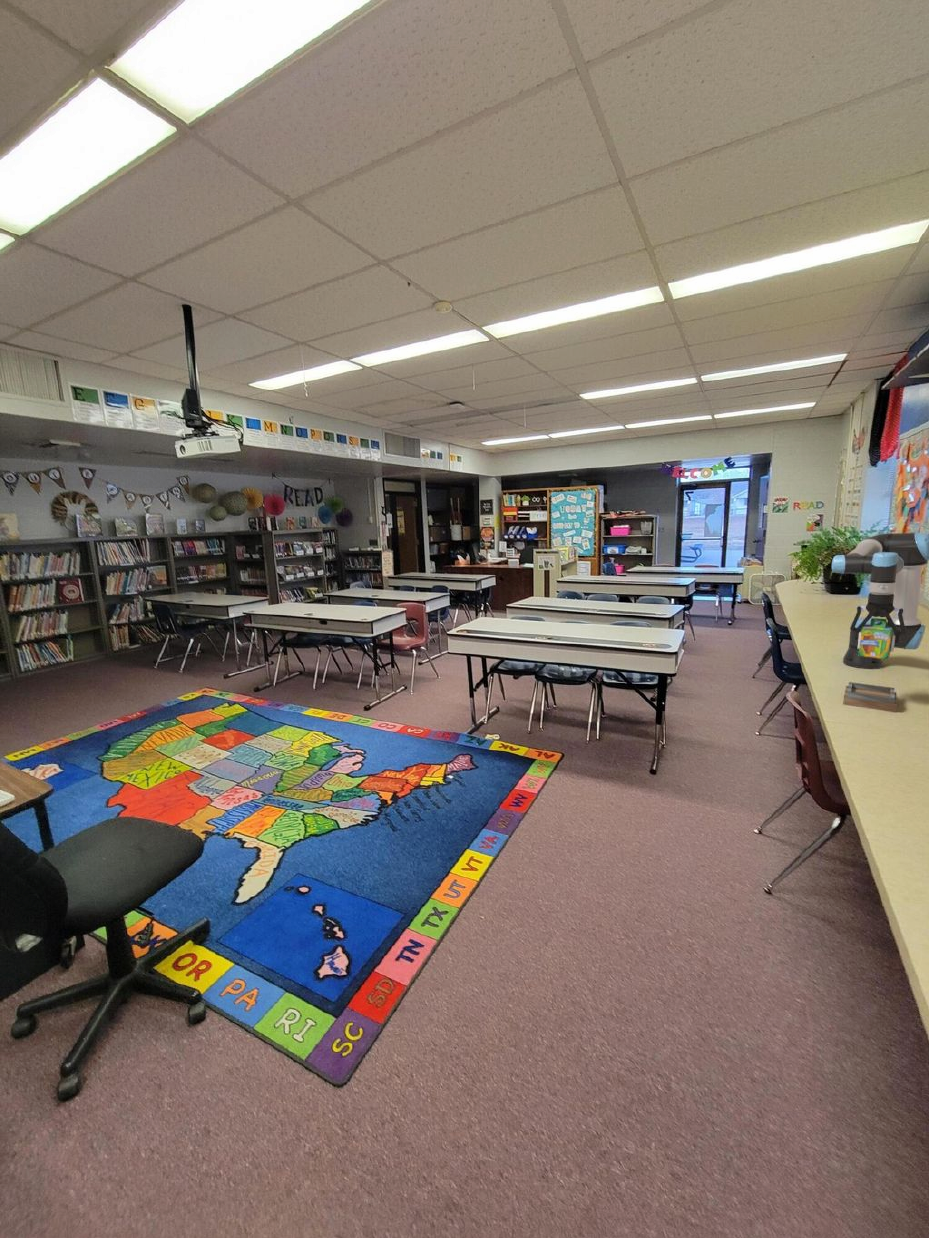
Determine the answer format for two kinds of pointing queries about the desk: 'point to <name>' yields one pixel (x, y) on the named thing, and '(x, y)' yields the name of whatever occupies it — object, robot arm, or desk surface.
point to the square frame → (870, 696)
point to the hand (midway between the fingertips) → (875, 649)
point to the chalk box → (876, 640)
